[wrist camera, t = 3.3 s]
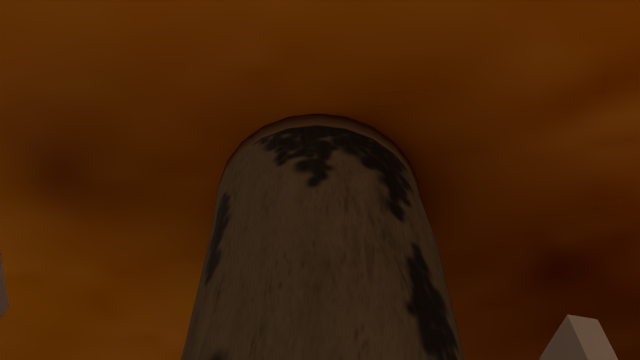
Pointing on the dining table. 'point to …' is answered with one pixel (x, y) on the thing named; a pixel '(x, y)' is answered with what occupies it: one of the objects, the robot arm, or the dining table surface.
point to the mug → (321, 253)
